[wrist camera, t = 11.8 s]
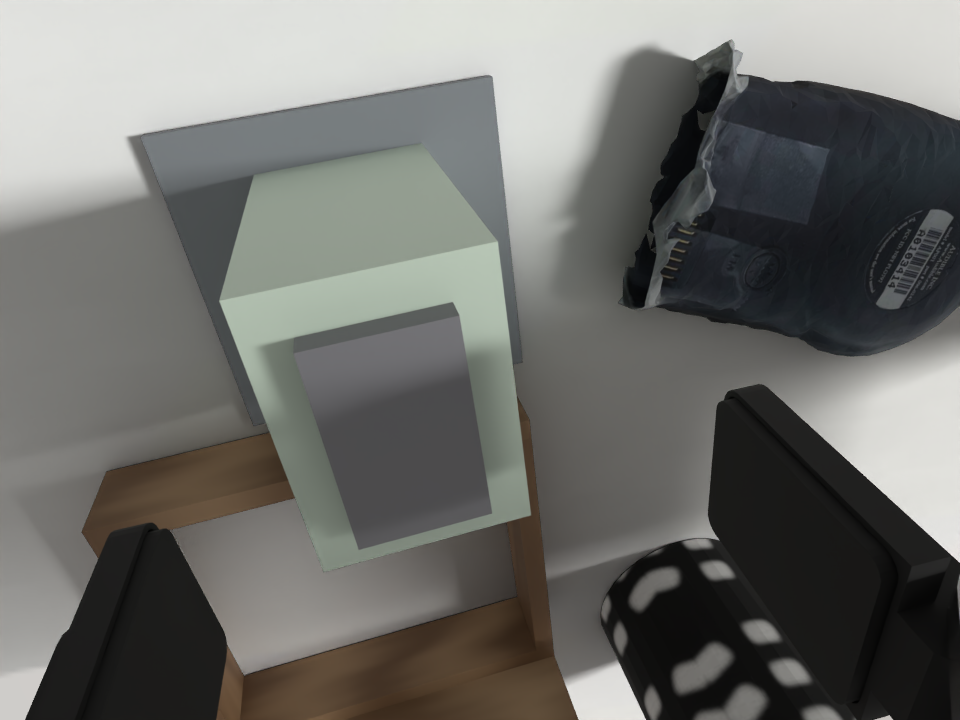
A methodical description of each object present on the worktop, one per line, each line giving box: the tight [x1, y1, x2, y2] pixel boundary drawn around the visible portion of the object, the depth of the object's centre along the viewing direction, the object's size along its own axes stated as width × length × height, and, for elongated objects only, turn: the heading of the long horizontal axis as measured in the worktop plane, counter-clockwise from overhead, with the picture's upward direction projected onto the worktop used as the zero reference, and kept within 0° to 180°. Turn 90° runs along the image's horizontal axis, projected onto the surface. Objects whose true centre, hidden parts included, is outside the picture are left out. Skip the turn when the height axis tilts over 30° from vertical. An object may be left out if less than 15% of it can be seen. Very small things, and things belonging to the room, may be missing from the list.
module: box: [219, 143, 531, 572], centre depth 17 cm, size 5×7×10 cm
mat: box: [141, 75, 522, 426], centre depth 21 cm, size 10×10×1 cm
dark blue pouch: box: [618, 39, 960, 356], centre depth 23 cm, size 9×6×15 cm
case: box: [82, 397, 578, 720], centre depth 21 cm, size 16×15×14 cm
